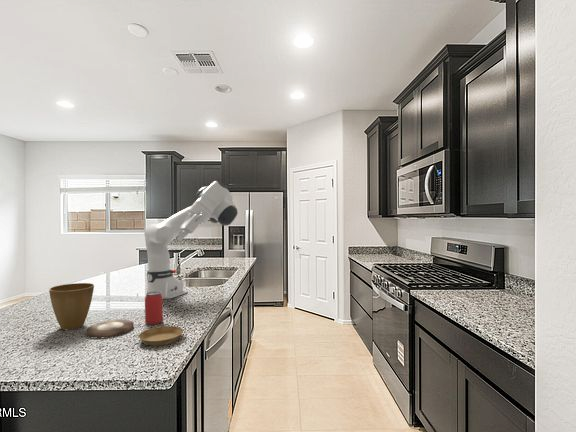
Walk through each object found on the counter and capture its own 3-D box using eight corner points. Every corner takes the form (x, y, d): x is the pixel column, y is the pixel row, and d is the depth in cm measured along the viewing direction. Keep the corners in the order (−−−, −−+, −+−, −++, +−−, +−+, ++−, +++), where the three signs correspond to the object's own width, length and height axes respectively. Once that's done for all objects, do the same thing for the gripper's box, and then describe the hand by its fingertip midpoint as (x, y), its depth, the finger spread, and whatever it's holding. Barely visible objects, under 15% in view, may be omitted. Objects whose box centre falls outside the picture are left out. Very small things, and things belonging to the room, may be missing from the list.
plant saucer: (169, 330, 127) (169, 323, 127) (192, 338, 118) (191, 331, 118) (130, 341, 116) (130, 334, 116) (152, 352, 106) (152, 344, 106)
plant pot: (46, 336, 121) (45, 292, 121) (53, 324, 134) (52, 285, 134) (93, 329, 128) (93, 287, 128) (95, 318, 141) (95, 281, 141)
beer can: (166, 320, 137) (165, 291, 137) (154, 326, 131) (154, 295, 131) (153, 319, 139) (152, 290, 139) (141, 324, 133) (141, 294, 133)
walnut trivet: (117, 321, 138) (117, 317, 138) (142, 327, 130) (142, 323, 129) (77, 333, 124) (77, 328, 124) (101, 341, 116) (101, 336, 116)
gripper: (209, 217, 131) (186, 245, 127) (201, 218, 150) (181, 243, 146) (196, 207, 129) (173, 235, 125) (190, 209, 148) (169, 234, 144)
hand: (177, 239), depth 136 cm, fingers open, 8 cm apart
